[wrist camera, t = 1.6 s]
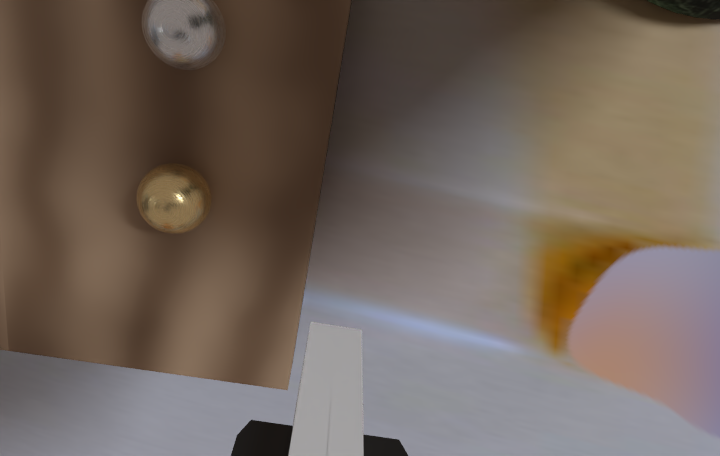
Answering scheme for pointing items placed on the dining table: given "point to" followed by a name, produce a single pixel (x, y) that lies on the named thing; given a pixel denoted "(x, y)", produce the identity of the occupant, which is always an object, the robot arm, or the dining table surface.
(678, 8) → the goblet
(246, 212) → the hole plate
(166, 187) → the brass ball
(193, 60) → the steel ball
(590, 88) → the dining table surface
